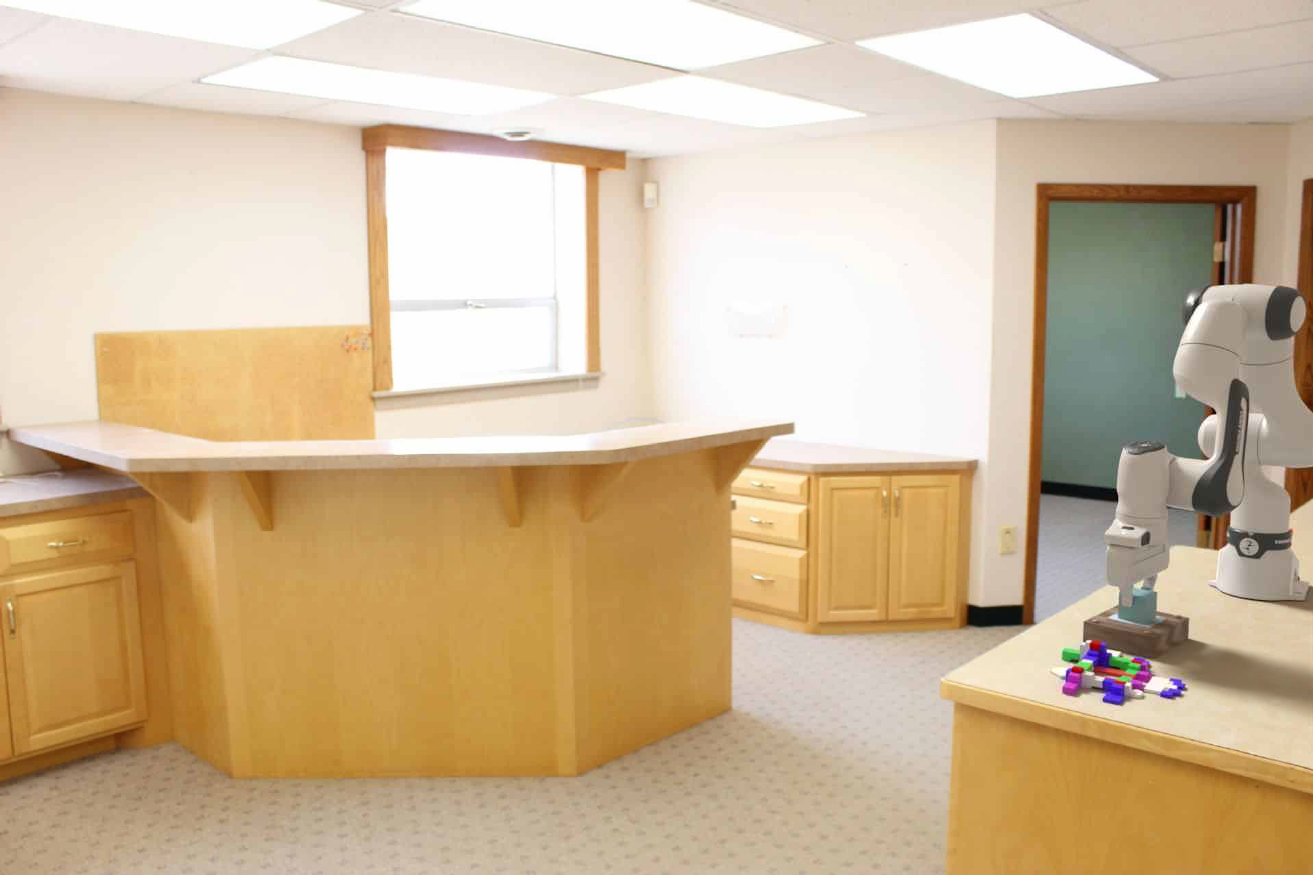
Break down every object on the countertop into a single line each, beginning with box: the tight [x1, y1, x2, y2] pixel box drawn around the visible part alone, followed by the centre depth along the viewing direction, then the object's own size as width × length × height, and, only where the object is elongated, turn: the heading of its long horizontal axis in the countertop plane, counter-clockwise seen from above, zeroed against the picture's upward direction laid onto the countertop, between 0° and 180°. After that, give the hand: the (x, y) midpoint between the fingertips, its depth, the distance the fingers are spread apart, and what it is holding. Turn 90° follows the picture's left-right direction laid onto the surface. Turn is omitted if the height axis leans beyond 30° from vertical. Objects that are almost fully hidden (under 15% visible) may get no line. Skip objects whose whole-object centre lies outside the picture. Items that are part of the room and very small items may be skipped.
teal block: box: [1118, 587, 1158, 624], centre depth 197 cm, size 5×5×5 cm
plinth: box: [1082, 604, 1190, 659], centre depth 198 cm, size 16×13×4 cm
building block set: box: [1050, 640, 1186, 706], centre depth 179 cm, size 25×20×4 cm
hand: (1137, 601), depth 197 cm, fingers open, 7 cm apart
